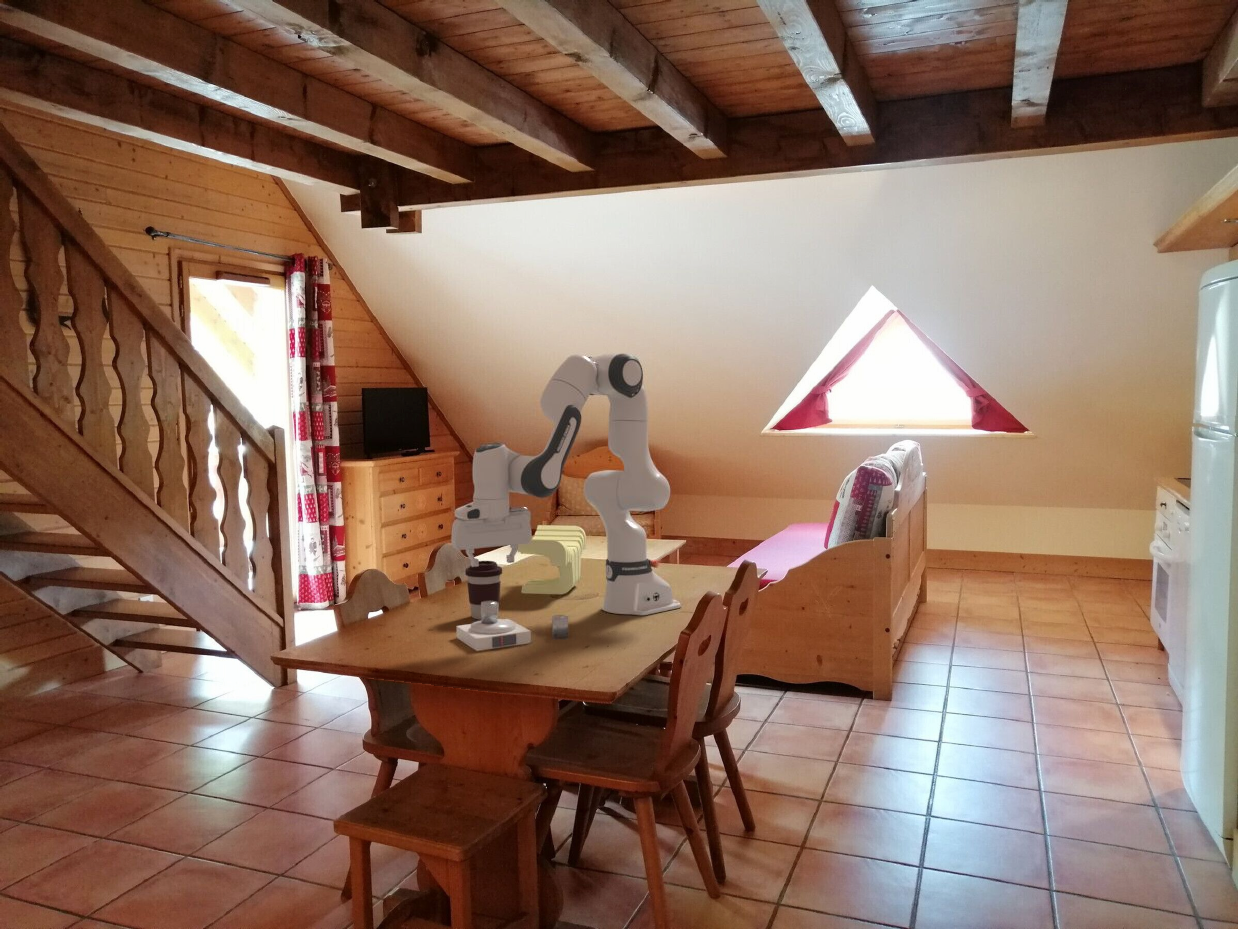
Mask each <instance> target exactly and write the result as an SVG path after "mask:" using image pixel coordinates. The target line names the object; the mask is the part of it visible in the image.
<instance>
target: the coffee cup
mask: <svg viewBox="0 0 1238 929" xmlns="http://www.w3.org/2000/svg"><path fill="white" fill-rule="evenodd" d="M478 564H479V566H476V567H472V566H471V564H470V566H469V567H466V568H465V576H467V592H468V601H469V604H470V605H469V606H470V615H471V618H472V619H474V620H479V621H481V602H484V601H496V602H497V617H499V604H500V603H499V602H500V599H501V598H500V597H501V575H502V574H503V567H502V566H499V565H498V563H497V562H496V561H493V560H479V562H478Z"/></svg>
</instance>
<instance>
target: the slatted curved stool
mask: <svg viewBox="0 0 1238 929" xmlns="http://www.w3.org/2000/svg"><path fill="white" fill-rule="evenodd" d="M586 549H587V536H586V532H585V530H584V529H583V527H580V526H578V525H557V524H556V525H555V524H554V525H551V524H549V525H548V524H545V525H544V524H542V525H541V524H538V525H537V528H536V531H535V533H534V536H532V539H531V541H530V542H529V543H526V544H518V551H517V552H518V553H520V554H521V555H522V554H523V555H535V556H541V557H545V558H547V559H548V560H549V562H550V565H551V567H557V569H558V573H559V574H558V575H559V577H554V578H542V579H541V578H540V579H539V578H536V579H535V578H532V579H530V580H528V581H527V582H526V583H524V584H523V585H522V587H521V594H539V595H540V594H542V595H564V594H567V593H568V592H569V591H570V590H572V588H574V586H576V585H577V584H578V583H579V581H580V579H581V570H582V568H581V566H582V565H581V564H582V554H583V552H584V550H586Z"/></svg>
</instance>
